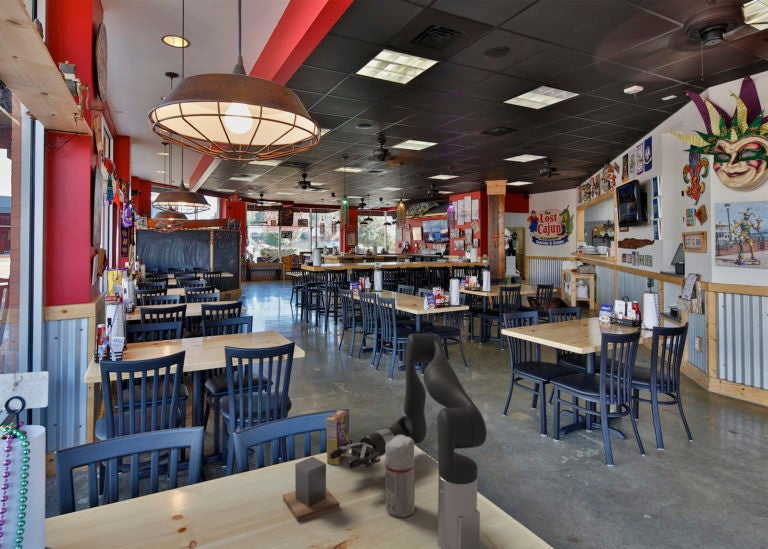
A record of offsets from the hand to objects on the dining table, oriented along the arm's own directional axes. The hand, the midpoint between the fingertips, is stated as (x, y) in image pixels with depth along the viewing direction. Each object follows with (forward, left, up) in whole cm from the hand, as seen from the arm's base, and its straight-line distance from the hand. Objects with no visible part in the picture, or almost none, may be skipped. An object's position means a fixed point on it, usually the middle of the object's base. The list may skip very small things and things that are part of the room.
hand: (340, 460), depth 130 cm
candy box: (+18, -8, -9) cm, 22 cm away
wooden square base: (-3, +10, -9) cm, 14 cm away
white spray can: (-18, -10, -9) cm, 22 cm away
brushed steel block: (-3, +10, -7) cm, 13 cm away
